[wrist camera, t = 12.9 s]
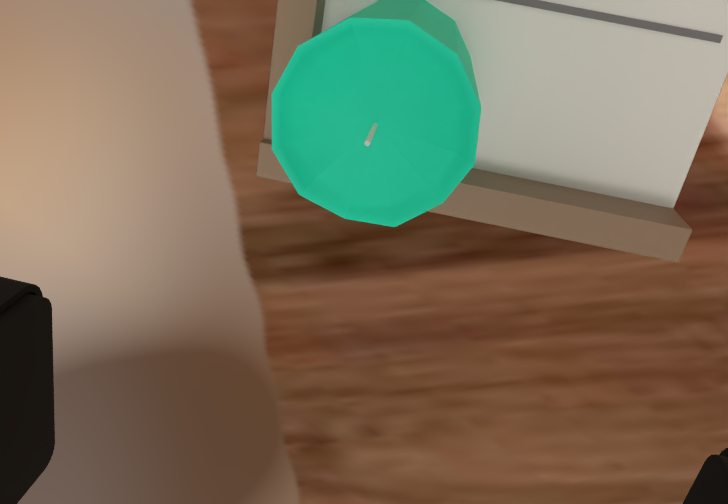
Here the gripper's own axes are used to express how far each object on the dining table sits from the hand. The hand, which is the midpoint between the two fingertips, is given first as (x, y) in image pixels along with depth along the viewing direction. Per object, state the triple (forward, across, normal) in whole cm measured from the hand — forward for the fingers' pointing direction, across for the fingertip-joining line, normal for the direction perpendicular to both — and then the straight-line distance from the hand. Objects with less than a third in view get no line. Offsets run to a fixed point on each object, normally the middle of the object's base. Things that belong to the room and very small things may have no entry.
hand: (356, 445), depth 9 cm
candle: (+21, +2, -2) cm, 21 cm away
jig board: (+23, -2, -2) cm, 23 cm away
